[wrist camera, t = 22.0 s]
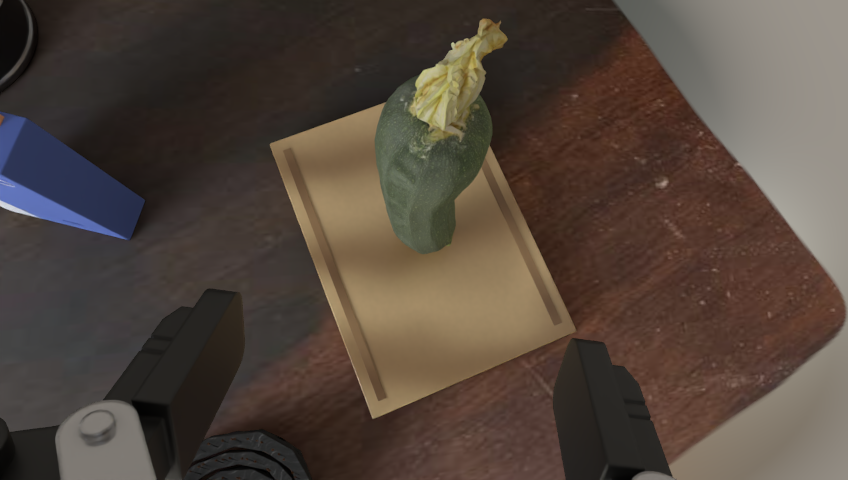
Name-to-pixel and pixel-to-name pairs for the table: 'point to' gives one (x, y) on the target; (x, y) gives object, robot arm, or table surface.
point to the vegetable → (435, 142)
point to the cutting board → (416, 270)
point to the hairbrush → (249, 458)
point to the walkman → (60, 182)
